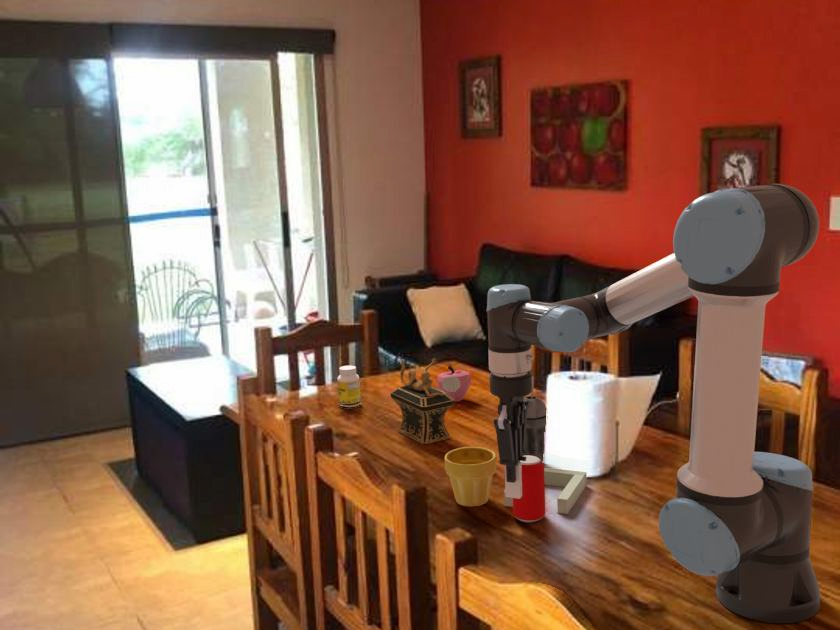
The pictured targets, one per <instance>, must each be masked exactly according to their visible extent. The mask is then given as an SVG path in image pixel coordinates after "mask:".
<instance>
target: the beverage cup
mask: <svg viewBox="0 0 840 630" xmlns="http://www.w3.org/2000/svg"><path fill="white" fill-rule="evenodd" d="M534 377H535V376H534V375H532V392H531V393H530V395H527V396H524V398H523V400H528V403H529V404H528V410H527V423H526V444H525V453H524V454H522V456H525V455H530V456H536V457H538V458H539V459H540V460H541V462H542V461H543V462H544V457H543V454H544V455H545V444H544V432H545V433H546V429H545V426H547V423H546V410H547V411H548V409H547V407H546V404H545V402H544V401H543V400H542V399H541V398H539V397H537V396H534V387H535V385H534V382H535V381H534Z"/></svg>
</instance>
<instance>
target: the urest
mask: <svg viewBox="0 0 840 630" xmlns="http://www.w3.org/2000/svg"><path fill="white" fill-rule="evenodd" d="M544 475H545V486H553V487H561V488H562V487H563V490H562V491H561V493H560V494H559V496H558V497H557V498H556V499H557V500H556V502H557V503H556V504H557V514H565V515H568V514H569V513H570V511H571V510H572V508H573V507H574V506H575V504H576V503H577V501H578V500H579V498H580V497H581V495H582V493H583V492H584V490H585V489H586V487H587V483H588V482H587V471H577V470H569V469H561V468H552V467H551V468H550V467H544ZM503 506H504V507H509V508H510V507H511V508H513V498H510V497H506V493H505V490H504V491H503Z"/></svg>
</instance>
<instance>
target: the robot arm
mask: <svg viewBox="0 0 840 630" xmlns="http://www.w3.org/2000/svg"><path fill="white" fill-rule="evenodd" d="M819 232H820V218H819V214H818V211H817V208H816V206H815V205H814V203H813V201H812V200H811V199H810V198H809V196H807V194H805V193H804V192H802V191H801V190H799V189H797V188H795V187H793V186H791V185H787V184H782V183H767V184H761V185H754V186H745V187H733V188H722V189H719V190H718V189H717V190H715V191H713V192H709V193H705V194H704V195H701V196H699V197H697V198H696V199H694V200H693V201H692V202H691V203H690V204H689V205H688V206H687V207H685V208H684V210H683V211H682V212H681V214H680V216H679V217H678V219H677V222H676V225H675V226H674V231H673V237H672V238H673V240H672V246H673V248H672V249H673V253H671V254H669V255H667V256H665V257H663V258H662V259H660V260H658V261H656V262H653V263H651V264H650V265H648V266H645V267H644V268H642V269H640V270H638V271H636V272H634V273H632V274H630V275H628V276H626V277H624V278H621V280H618V281H616V282H615V283H613V284H611V285H608V286H606V287H605V288H603V289H601V290H600V291H597V292H594V293H592V294H588V295H585V296H584V295H583V296H579V297H574V298H570V299H566V300H565V299H564V300H560V301H556V302H555V301H554V302H543V301H535V300H532V297H531V296H532V295H531V292H530V291H531V290H530V288H529V287H528V286H526V285H523V284H519V283H518V284H515V283H509V284H497V285H494V286H492V287H491V288H489V290H488V292H487V299H486V300H487V301H486V304H487V306H486V310H485V311H486V313H487V314H486V316H487V317H486V318H487V334H488V335H487V337H488V370H489V371H490V374H489V393H491V395H493V396H495V397H497V398H498V399H499V402H498V405H497V414H498V418H497V417H494V419H493V425H494V429H495V433H496V441H497V450H498V456H499V457H498V459H499V462H498V463H499V465H503V466H504V482H505V483H504V484H505V485H504V488H505V489H504V491H505V493H506V497H510V498H518V499H520V498H521V497H522V467H521V462H520V461H526V457H524V456H522V454H524V453H525V444H526V423H527V410H528V404H529V403H528V400H523V398H525V397H528V396H530V395H531V392H532V376H533V374H532V372H530V371H531V370H532V361H534V358H535V355H534V354H532V346H534V347H539V348H543V349H545V350H549V351H554V352H559V353H560V352H564V353H573V352H576V351H578V350H579V349H580V347H581V346H583V345H584V344H585V343H586V341H587V340H588V341H589V340H592V339H595V338H600V337H604V336H608V335H609V336H610V335H615V334H618V333H619V334H620V333H621V332H623V331H626V330H628V329H630V328H631V326H632V325H633V324H635V323H636V322H639V321H641V320H644V319H645V318H647V317H650V316H652V315H654V314H656V313H658V312H662V311H664V310H666V309H668V308H670V307H672V306H674V305H677V304H679V303H681V302H684V301H686V300H688V299H691V298H693V297H695V298H696V299H697V302H698V306H697V321H696V336H695V337H696V340H695V355H694V356H695V357H694V373H693V386H692V387H693V390H692V405H691V406H692V408H691V420H690V421H691V425H690V426H691V427H690V438H689V439H690V440H689V441H690V442H689V454H688V455H689V456H688V457H689V459H688V462H686V463H685V464H683V465H682V466H681V467H680V468H679V469H678V471H677V475H676V489H675V491H676V492H675V498H671V499H669V501H667V502H666V503H665V505H663V507H662V508H661V510H660V512H659V516H658V529H659V534H660V537H661V539H662V542H663V544H664V546H665V548H666V549H667V551H669V552H670V554H671V556H672V558H673V559H674V560H675V561H676V562H677V563H679V564H680V566H682V567H683V568H684V569H686V570H687V571H689V572H691V573H694V574H696V575H698V576H703V577H714V576H716V583H715V587H716V589H715V595H716V597H717V599H718V601H719V602H720V603H721V604H722V605H723V606H724V607H725V608H726V609H728V610H730V611H731V612H733V613H735V614H737V615H739V616H741V617H744V618H747V619H750V620H754V621H757V622H764V623H771V624H794V623H799V622H804V621H807V620H809V619H811V618H813V617H814V616H816V615H817V613H819V611H820V607H821V590H820V586H819V584H818V579H817V577H816V574H815V570H814V567H813V565H812V562H811V561H812V560H811V557H810V549H811V547H810V546H811V531H812V530H811V529H812V527H811V526H812V508H813V507H812V505H813V504H812V503H813V491H814V487H813V472H812V470H811V468H810V467H809V466H808V465H807V464H806V463H804V462H803V461H801V460H799V459H796V458H794V457H790V456H787V455H784V454H779V453H772V452H764V451H755V444H756V431H757V419H758V418H757V417H758V407H759V396H760V395H759V393H760V380H761V379H760V378H761V368H762V357H763V356H762V353H763V341H764V330H765V329H764V328H765V316H766V305H767V304H768V302H770V301H771V300H772V299H774V298H775V297H776V296H777V295H779V292H780V281H781V271H782V268H784V267H788V266H790V265H793V264H795V263H797V262H798V261H800V260H802V259H803V258H804V257H805V256H806V255H807V254H808V253H809V252H810V251H811V249H813V248H814V245H815V243H816V241H817V239H818V235H819Z"/></svg>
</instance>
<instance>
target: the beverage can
mask: <svg viewBox="0 0 840 630" xmlns="http://www.w3.org/2000/svg"><path fill="white" fill-rule="evenodd" d="M524 457H526V461H520V462H521V467H522V497H521V498H520V499H518V498H513V507H512V514H513V516H514V518H515V519H517V520H519V521H520V522H523V523H535V522H538V521H540V520H541V519H543V518H544V516H545V515H546V485H545V475H544V468H545V466H544V462H543V463H542V462H541V460H540V459H539V458H538V457H536V456H530V455H525V456H524Z"/></svg>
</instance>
